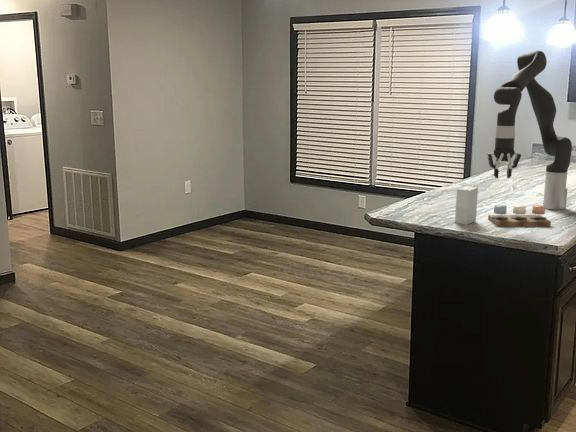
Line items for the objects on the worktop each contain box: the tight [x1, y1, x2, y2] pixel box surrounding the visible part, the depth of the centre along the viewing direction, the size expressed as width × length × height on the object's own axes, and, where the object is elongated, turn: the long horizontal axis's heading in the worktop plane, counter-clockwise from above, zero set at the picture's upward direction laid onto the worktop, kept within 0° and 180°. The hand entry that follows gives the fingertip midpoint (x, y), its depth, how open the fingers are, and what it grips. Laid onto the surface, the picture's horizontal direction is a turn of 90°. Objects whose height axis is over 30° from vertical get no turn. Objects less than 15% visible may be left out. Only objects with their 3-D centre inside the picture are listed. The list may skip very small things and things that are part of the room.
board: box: [487, 214, 552, 227], centre depth 277 cm, size 22×13×2 cm, turn 88°
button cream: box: [512, 204, 527, 215], centre depth 276 cm, size 5×5×3 cm
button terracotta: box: [531, 204, 546, 215], centre depth 275 cm, size 5×5×3 cm
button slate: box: [493, 204, 508, 215], centre depth 276 cm, size 5×5×3 cm
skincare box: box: [454, 185, 479, 225], centre depth 277 cm, size 8×6×15 cm
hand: (502, 177), depth 273 cm, fingers open, 4 cm apart
